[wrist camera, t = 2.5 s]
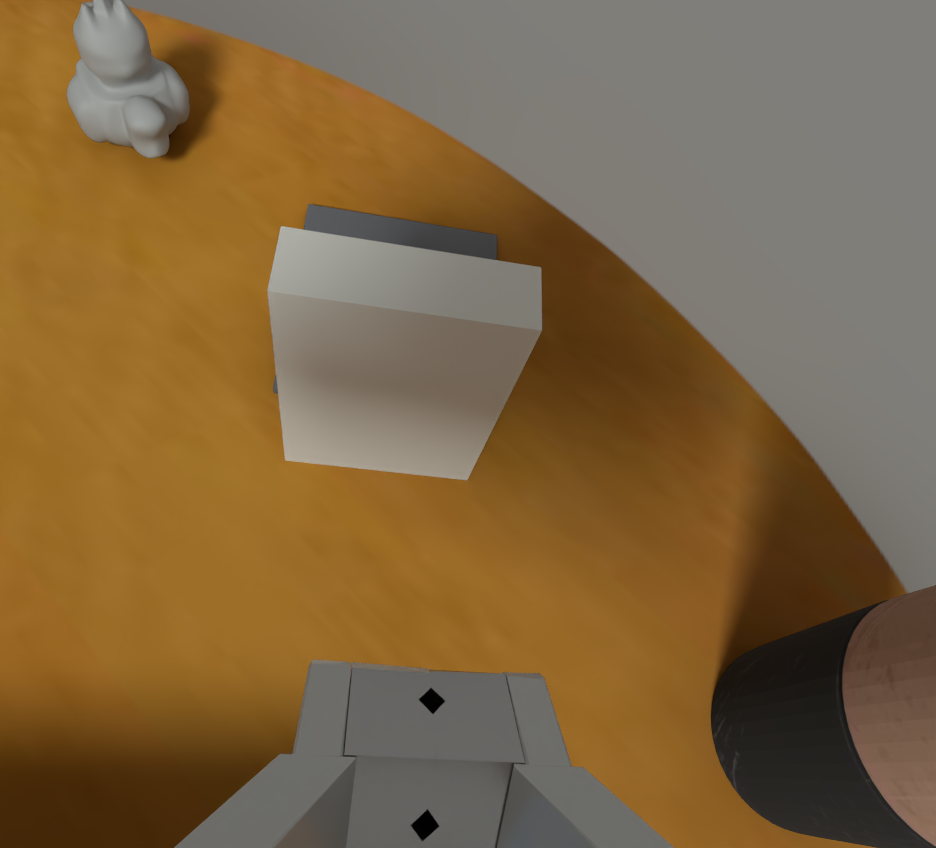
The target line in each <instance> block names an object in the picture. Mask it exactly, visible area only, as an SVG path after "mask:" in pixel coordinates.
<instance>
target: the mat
mask: <svg viewBox="0 0 936 848" xmlns="http://www.w3.org/2000/svg"><path fill="white" fill-rule="evenodd" d="M304 230H308V231H315V232H321V233H327V234H334V235H340V236H346V237H353V238H359V239H365V240H372V241H378V242H384V243H391V244H397V245H403V246H410V247H416V248H422V249H429V250H435V251H441V252H448V253H454V254H460V255H467V256H473V257H479V258H486V259H492V260H497V235H494V234H488V233H482V232H476V231H470V230H464V229H457V228H451V227H445V226H439V225H433V224H427V223H421V222H415V221H409V220H402V219H396V218H390V217H384V216H378V215H372V214H366V213H360V212H354V211H347V210H341V209H335V208H329V207H323V206H317V205H311V204H308V209H307V214H306V219H305V225H304ZM273 391H274V393H278V387H277V377H276V376H275V381H274V387H273Z"/></svg>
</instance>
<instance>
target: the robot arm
mask: <svg viewBox="0 0 936 848" xmlns="http://www.w3.org/2000/svg"><path fill="white" fill-rule="evenodd" d="M350 676H351V678H350ZM174 848H674V847H673V846H672V845H670V844H669V843H668V842H667V841H666V840H665V839H664V838H663V837H661V836H660V835H659V834H658V833H657V832H656V831H655V830H654V829H652V828H651V827H650V826H649V825H648V824H647V823H646V822H644V821H643V820H642V819H641V818H640V817H639V816H638V815H637V814H635V813H634V812H633V811H632V810H631V809H630V808H629V807H628V806H626V805H625V804H624V803H623V802H622V801H621V800H620V799H619V798H617V797H616V796H615V795H614V794H613V793H612V792H611V791H610V790H608V789H607V788H606V787H605V786H604V785H603V784H602V783H601V782H599V781H598V780H597V779H596V778H595V777H594V776H593V775H591V774H590V773H589V772H588V771H587V770H586V769H585V768H583V767H572V765H571V762H570V758H569V755H568V752H567V749H566V746H565V742H564V739H563V736H562V733H561V730H560V726H559V723H558V720H557V717H556V714H555V710H554V707H553V704H552V701H551V698H550V694H549V691H548V688H547V685H546V681H545V678H544V677H543V676H542V675H541V674H540V673H509V672H503V673H502V674H499V673H482V672H464V671H447V670H430V669H426V668H414V667H402V666H390V665H379V664H367V663H355V662H353V663H352V671H351V663H350V662H340V661H325V660H312V661H311V663H310V665H309V668H308V674H307V679H306V684H305V690H304V695H303V700H302V705H301V711H300V716H299V721H298V726H297V732H296V737H295V742H294V747H293V753H292V754H279V755H278V756H277V757H276V758H274V759H273V760H272V761H271V762H270V763H269V764H268V765H267V766H265V767H264V768H263V769H262V770H261V771H260V772H259V773H257V774H256V775H255V776H254V777H253V778H252V779H251V780H250V781H248V782H247V783H246V784H245V785H244V786H243V787H242V788H241V789H239V790H238V791H237V792H236V793H235V794H234V795H233V796H232V797H230V798H229V799H228V800H227V801H226V802H225V803H224V804H222V805H221V806H220V807H219V808H218V809H217V810H216V811H215V812H213V813H212V814H211V815H210V816H209V817H208V818H207V819H206V820H204V821H203V822H202V823H201V824H200V825H199V826H198V827H197V828H195V829H194V830H193V831H192V832H191V833H190V834H189V835H187V836H186V837H185V838H184V839H183V840H182V841H181V842H180V843H178V844H177V845H176V846H175V847H174Z"/></svg>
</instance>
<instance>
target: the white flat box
mask: <svg viewBox="0 0 936 848" xmlns="http://www.w3.org/2000/svg"><path fill="white" fill-rule="evenodd" d="M267 292H268V301H269V311H270V320H271V330H272V339H273V349H274V358H275V368H276V377H277V387H278V396H279V406H280V415H281V425H282V434H283V444H284V454H285V460H286V461H295V462H305V463H314V464H323V465H332V466H341V467H350V468H360V469H369V470H378V471H387V472H396V473H405V474H415V475H424V476H433V477H442V478H451V479H460V480H468V478H469V476H470V474H471V472H472V470H473V468H474V466H475V464H476V462H477V460H478V458H479V456H480V454H481V452H482V450H483V448H484V446H485V444H486V442H487V440H488V438H489V436H490V434H491V432H492V430H493V428H494V426H495V424H496V422H497V420H498V418H499V416H500V414H501V412H502V410H503V408H504V406H505V404H506V402H507V400H508V398H509V396H510V394H511V392H512V390H513V388H514V386H515V384H516V382H517V380H518V378H519V376H520V374H521V372H522V370H523V368H524V366H525V364H526V362H527V360H528V358H529V356H530V354H531V352H532V350H533V348H534V346H535V344H536V342H537V340H538V338H539V336H540V334H541V332H542V280H541V267H536V266H530V265H524V264H517V263H511V262H505V261H498V260H492V259H486V258H479V257H473V256H467V255H460V254H454V253H448V252H441V251H435V250H429V249H422V248H416V247H410V246H403V245H397V244H391V243H384V242H378V241H372V240H365V239H359V238H353V237H346V236H340V235H334V234H327V233H321V232H315V231H308V230H302V229H296V228H289V227H283V226H281V229H280V234H279V239H278V243H277V248H276V253H275V258H274V262H273V267H272V272H271V277H270V281H269V286H268V291H267Z"/></svg>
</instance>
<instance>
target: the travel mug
mask: <svg viewBox="0 0 936 848" xmlns="http://www.w3.org/2000/svg"><path fill="white" fill-rule="evenodd" d="M711 721H712V733H713V740H714V744H715V748H716V752H717V755H718V758H719V760H720V763H721V766H722V768H723V770H724V772H725V774H726V776H727V778H728V779H729V781H730V782H731V784H732V786H733V787H734V789H735V790H736V791H737V793H738V794H739V795H740V796H741V798H742V799H743V800H744V801H745V802H746V803H747V804H748V805H749V806H750V807H751V808H752V809H753V810H755V811H756V812H757V813H758V814H759V815H761V816H762V817H764V818H765V819H767V820H768V821H770V822H771V823H773V824H775V825H777V826H779V827H781V828H784V829H787V830H790V831H793V832H796V833H800V834H805V835H810V836H815V837H820V838H826V839H831V840H837V841H843V842H849V843H854V844H860V845H866V846H872V847H877V848H936V585H935V586H932V587H929V588H925V589H922V590H918V591H915V592H912V593H908V594H905V595H902V596H898V597H895V598H892V599H890V600H886V601H883V602H880V603H877V604H875V605H872V606H869V607H866V608H864V609H861V610H858V611H855V612H853V613H850V614H847V615H844V616H841V617H839V618H836V619H833V620H830V621H828V622H825V623H822V624H819V625H817V626H814V627H811V628H808V629H806V630H803V631H800V632H797V633H795V634H792V635H789V636H786V637H784V638H781V639H778V640H775V641H773V642H770V643H767V644H765V645H762V646H760V647H757V648H755V649H753V650H751V651H749V652H747V653H745V654H743V655H742V656H740V657H739V658H737V659H736V660H735V661H734V662H733V663H732V664H731V665H730V666H729V667H728V669H727V670H726V671H725V673H724V674H723V676H722V677H721V679H720V681H719V683H718V686H717V688H716V691H715V694H714V699H713V703H712V714H711Z"/></svg>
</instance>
